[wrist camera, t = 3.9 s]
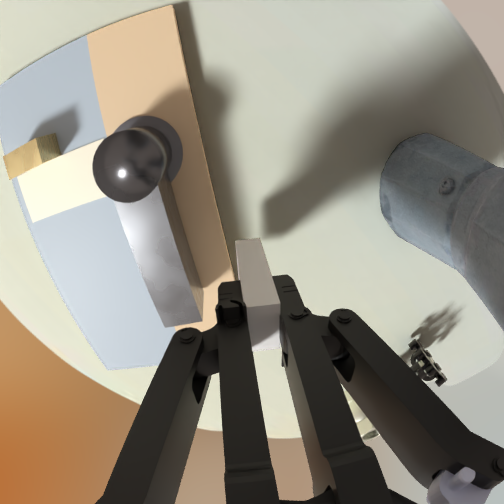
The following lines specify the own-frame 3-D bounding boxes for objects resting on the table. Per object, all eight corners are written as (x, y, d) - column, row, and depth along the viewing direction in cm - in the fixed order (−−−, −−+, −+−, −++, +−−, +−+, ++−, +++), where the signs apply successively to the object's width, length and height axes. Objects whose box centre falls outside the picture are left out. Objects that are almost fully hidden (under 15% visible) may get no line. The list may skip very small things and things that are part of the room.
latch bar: (107, 136, 15) (84, 144, 12) (164, 118, 15) (151, 120, 12) (163, 299, 21) (156, 332, 17) (211, 290, 21) (211, 322, 18)
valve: (355, 406, 34) (427, 349, 30) (371, 445, 28) (453, 386, 24) (326, 394, 31) (407, 329, 28) (342, 440, 25) (437, 373, 22)
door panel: (1, 90, 13) (-10, 91, 12) (174, 10, 13) (171, 3, 12) (110, 361, 25) (107, 371, 24) (251, 340, 25) (253, 351, 24)
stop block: (23, 149, 14) (3, 156, 12) (55, 132, 15) (35, 137, 12) (29, 170, 15) (9, 180, 13) (61, 155, 15) (42, 163, 13)
